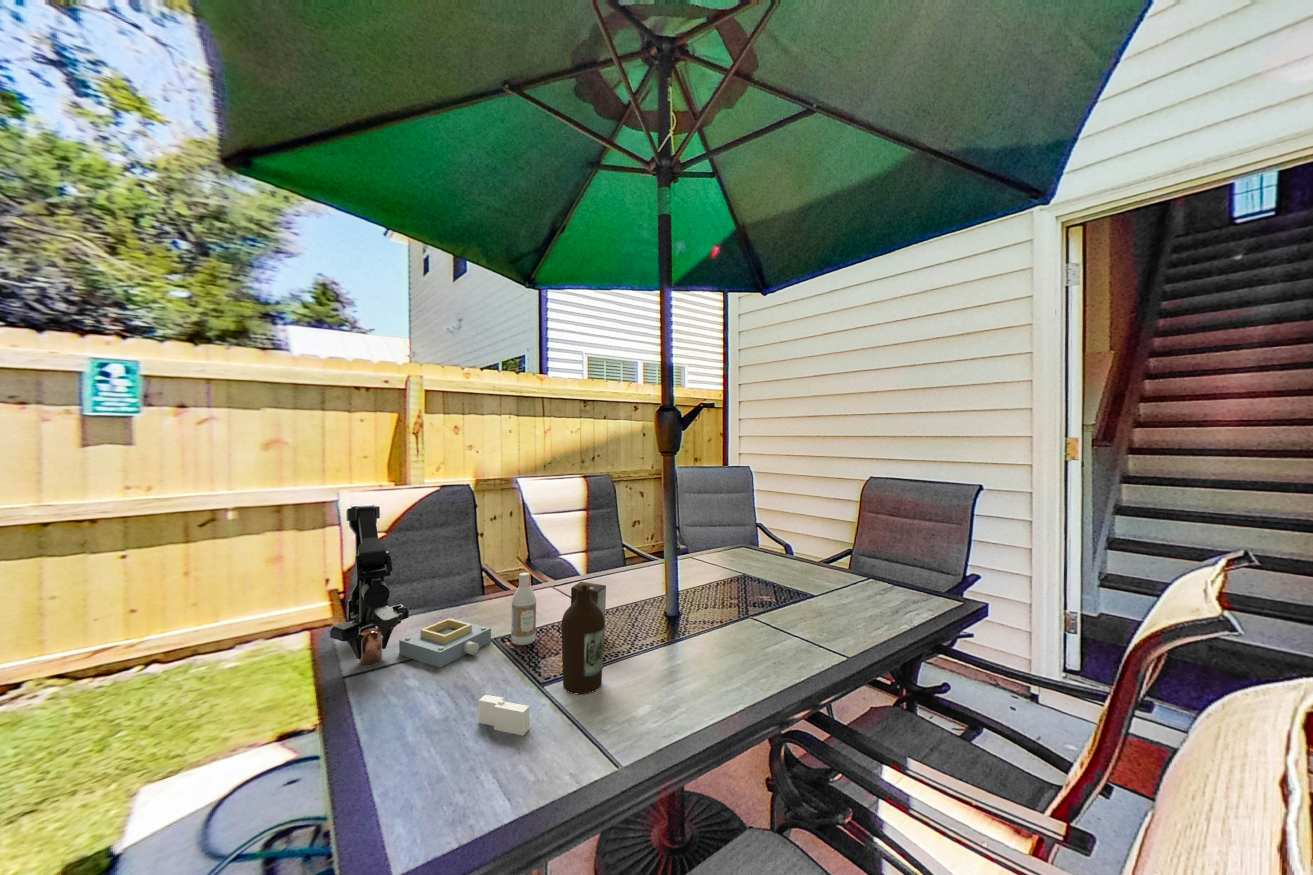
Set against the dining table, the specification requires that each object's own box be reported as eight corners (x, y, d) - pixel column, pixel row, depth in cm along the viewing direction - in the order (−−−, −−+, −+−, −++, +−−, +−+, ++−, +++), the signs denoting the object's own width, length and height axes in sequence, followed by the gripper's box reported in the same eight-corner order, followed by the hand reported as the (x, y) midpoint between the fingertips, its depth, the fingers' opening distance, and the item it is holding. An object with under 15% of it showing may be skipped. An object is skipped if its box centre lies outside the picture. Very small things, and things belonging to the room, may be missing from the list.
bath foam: (515, 647, 142) (516, 578, 142) (508, 639, 148) (509, 572, 148) (538, 642, 146) (539, 574, 146) (530, 634, 152) (531, 569, 152)
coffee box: (568, 640, 148) (569, 587, 147) (579, 632, 154) (579, 581, 153) (596, 645, 145) (597, 590, 144) (606, 637, 151) (606, 584, 150)
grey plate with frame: (399, 654, 137) (399, 632, 137) (452, 631, 153) (452, 611, 153) (448, 670, 129) (448, 647, 129) (498, 643, 145) (498, 623, 145)
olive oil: (551, 686, 121) (552, 585, 121) (581, 670, 130) (583, 575, 129) (583, 701, 115) (584, 593, 115) (612, 682, 124) (614, 582, 123)
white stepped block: (542, 734, 103) (542, 707, 103) (487, 755, 96) (487, 725, 96) (517, 702, 115) (517, 677, 115) (466, 717, 108) (466, 692, 108)
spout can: (356, 663, 132) (356, 633, 132) (374, 655, 136) (374, 626, 136) (373, 668, 129) (373, 638, 129) (390, 660, 133) (390, 631, 133)
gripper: (356, 612, 121) (356, 675, 121) (422, 590, 138) (422, 646, 138) (328, 604, 126) (328, 665, 126) (396, 584, 143) (395, 638, 143)
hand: (371, 653), depth 133 cm, fingers open, 7 cm apart
